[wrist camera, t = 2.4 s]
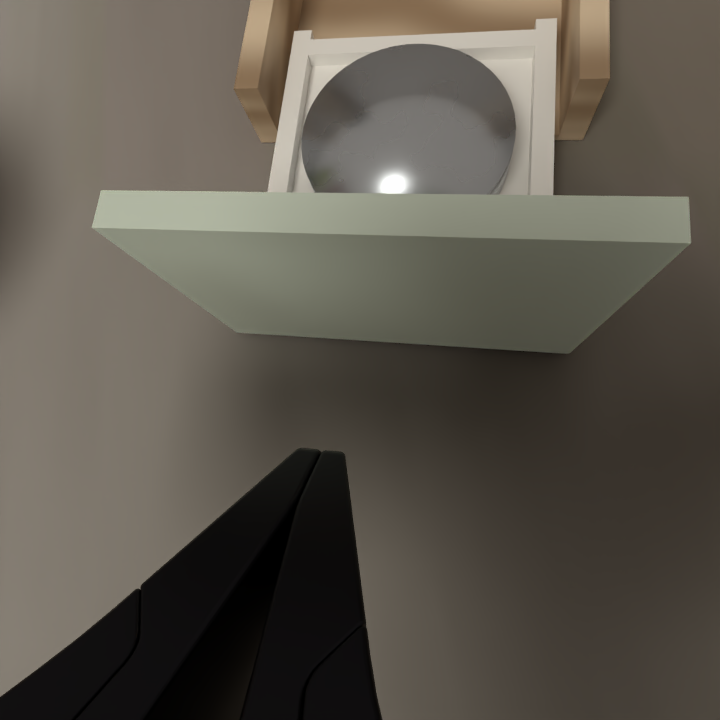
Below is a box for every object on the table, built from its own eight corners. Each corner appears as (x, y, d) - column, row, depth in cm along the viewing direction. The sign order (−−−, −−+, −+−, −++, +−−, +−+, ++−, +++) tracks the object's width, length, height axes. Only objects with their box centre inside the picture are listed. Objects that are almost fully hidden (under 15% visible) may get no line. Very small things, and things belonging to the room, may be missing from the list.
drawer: (569, 353, 18) (691, 243, 9) (236, 332, 20) (92, 227, 11) (572, 49, 21) (667, -245, 12) (283, 60, 23) (194, -182, 14)
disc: (383, 289, 18) (379, 272, 17) (276, 150, 21) (263, 124, 19) (553, 168, 18) (564, 141, 17) (428, 43, 21) (427, 9, 19)
